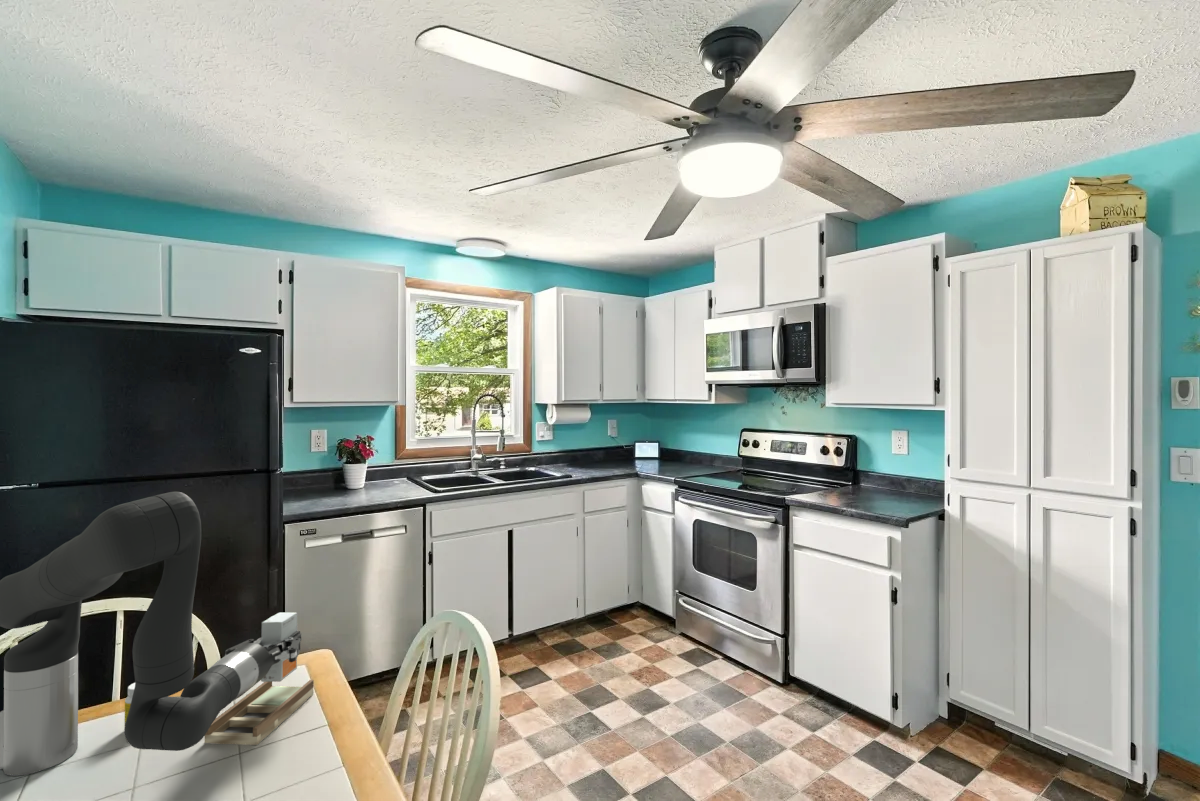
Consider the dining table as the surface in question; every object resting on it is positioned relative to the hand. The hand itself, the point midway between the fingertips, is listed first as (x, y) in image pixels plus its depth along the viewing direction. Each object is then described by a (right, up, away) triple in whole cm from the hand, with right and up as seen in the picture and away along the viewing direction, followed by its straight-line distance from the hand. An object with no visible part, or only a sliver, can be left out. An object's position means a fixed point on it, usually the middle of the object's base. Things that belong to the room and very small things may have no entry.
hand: (286, 636), depth 119 cm
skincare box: (0, -7, -3) cm, 8 cm away
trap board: (0, -13, -8) cm, 15 cm away
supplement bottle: (-22, -13, -11) cm, 28 cm away
